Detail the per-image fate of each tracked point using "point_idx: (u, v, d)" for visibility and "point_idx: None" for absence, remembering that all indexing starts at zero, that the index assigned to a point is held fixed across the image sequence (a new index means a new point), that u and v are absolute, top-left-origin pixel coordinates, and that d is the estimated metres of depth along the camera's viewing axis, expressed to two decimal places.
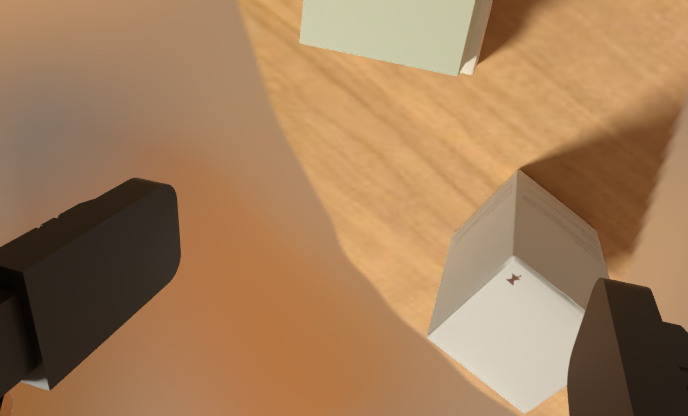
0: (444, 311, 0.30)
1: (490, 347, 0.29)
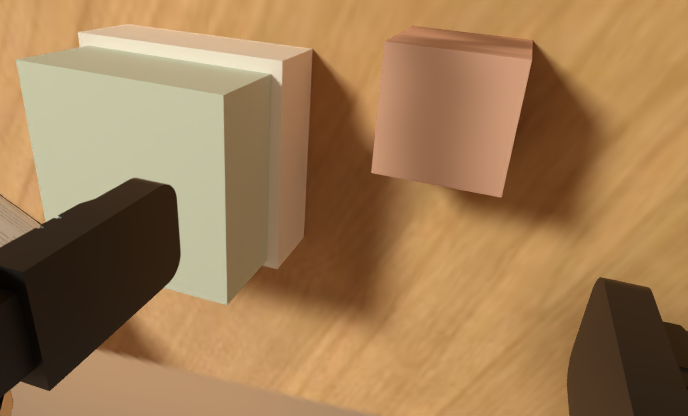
0: None
1: None
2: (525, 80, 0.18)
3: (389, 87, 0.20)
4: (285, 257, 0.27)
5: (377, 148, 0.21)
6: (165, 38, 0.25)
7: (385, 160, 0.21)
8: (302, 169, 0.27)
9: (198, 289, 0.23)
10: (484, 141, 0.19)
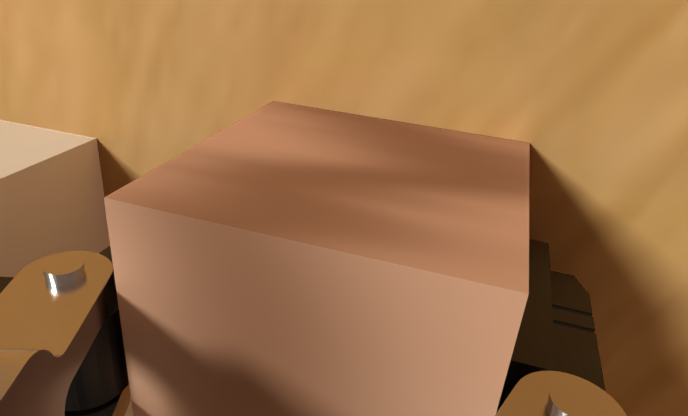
0: None
1: None
2: (507, 346, 0.06)
3: (140, 309, 0.07)
4: None
5: None
6: None
7: None
8: None
9: None
10: None
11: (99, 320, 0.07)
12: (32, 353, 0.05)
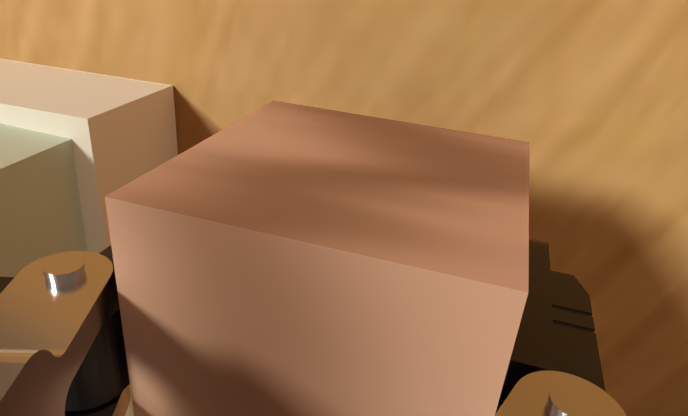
0: None
1: None
2: (507, 345, 0.06)
3: (141, 308, 0.07)
4: None
5: None
6: None
7: None
8: None
9: None
10: None
11: (99, 320, 0.07)
12: (32, 353, 0.05)
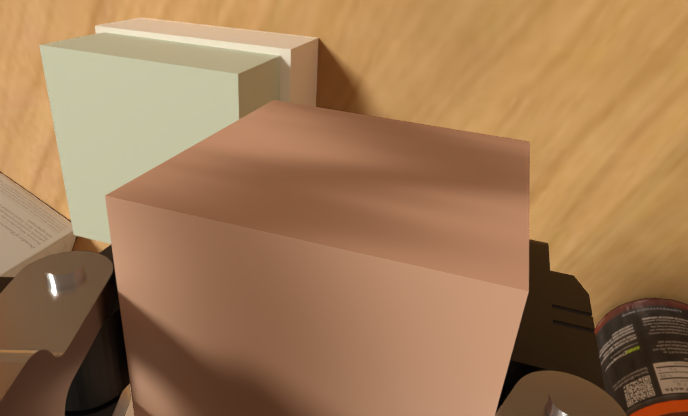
0: None
1: None
2: (507, 343, 0.06)
3: (141, 307, 0.07)
4: None
5: None
6: (178, 30, 0.26)
7: None
8: None
9: None
10: None
11: (99, 320, 0.07)
12: (32, 353, 0.05)
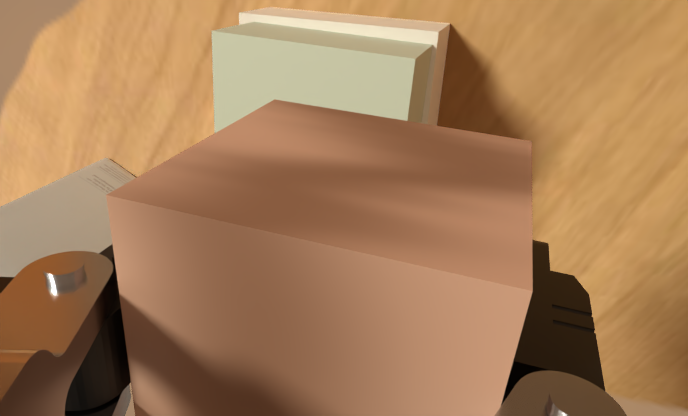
0: None
1: None
2: (511, 344, 0.06)
3: (142, 307, 0.07)
4: None
5: None
6: (317, 16, 0.27)
7: None
8: None
9: None
10: None
11: (99, 320, 0.07)
12: (32, 353, 0.05)
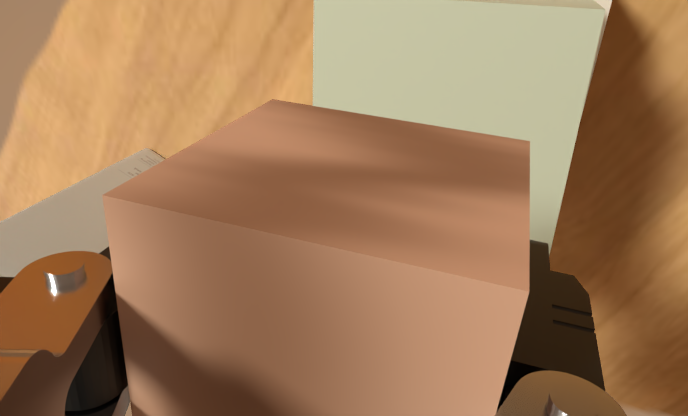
0: (2, 255, 0.22)
1: None
2: (508, 344, 0.06)
3: (139, 308, 0.07)
4: None
5: None
6: None
7: None
8: None
9: None
10: None
11: (99, 320, 0.07)
12: (32, 353, 0.05)
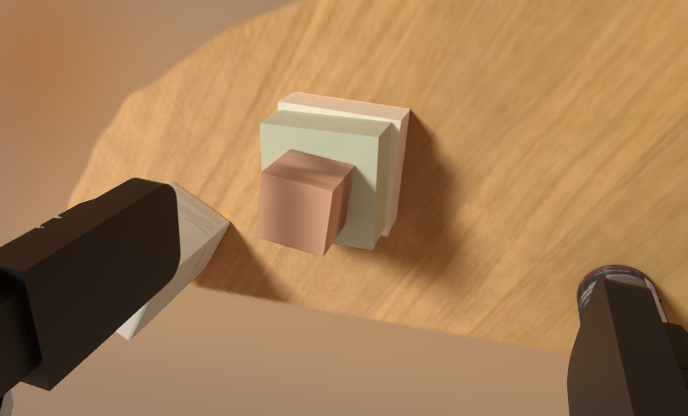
0: None
1: None
2: (330, 200, 0.35)
3: (264, 195, 0.36)
4: None
5: (258, 225, 0.37)
6: (327, 104, 0.43)
7: (263, 231, 0.37)
8: (400, 177, 0.46)
9: (355, 242, 0.41)
10: (312, 228, 0.36)
11: None
12: None
